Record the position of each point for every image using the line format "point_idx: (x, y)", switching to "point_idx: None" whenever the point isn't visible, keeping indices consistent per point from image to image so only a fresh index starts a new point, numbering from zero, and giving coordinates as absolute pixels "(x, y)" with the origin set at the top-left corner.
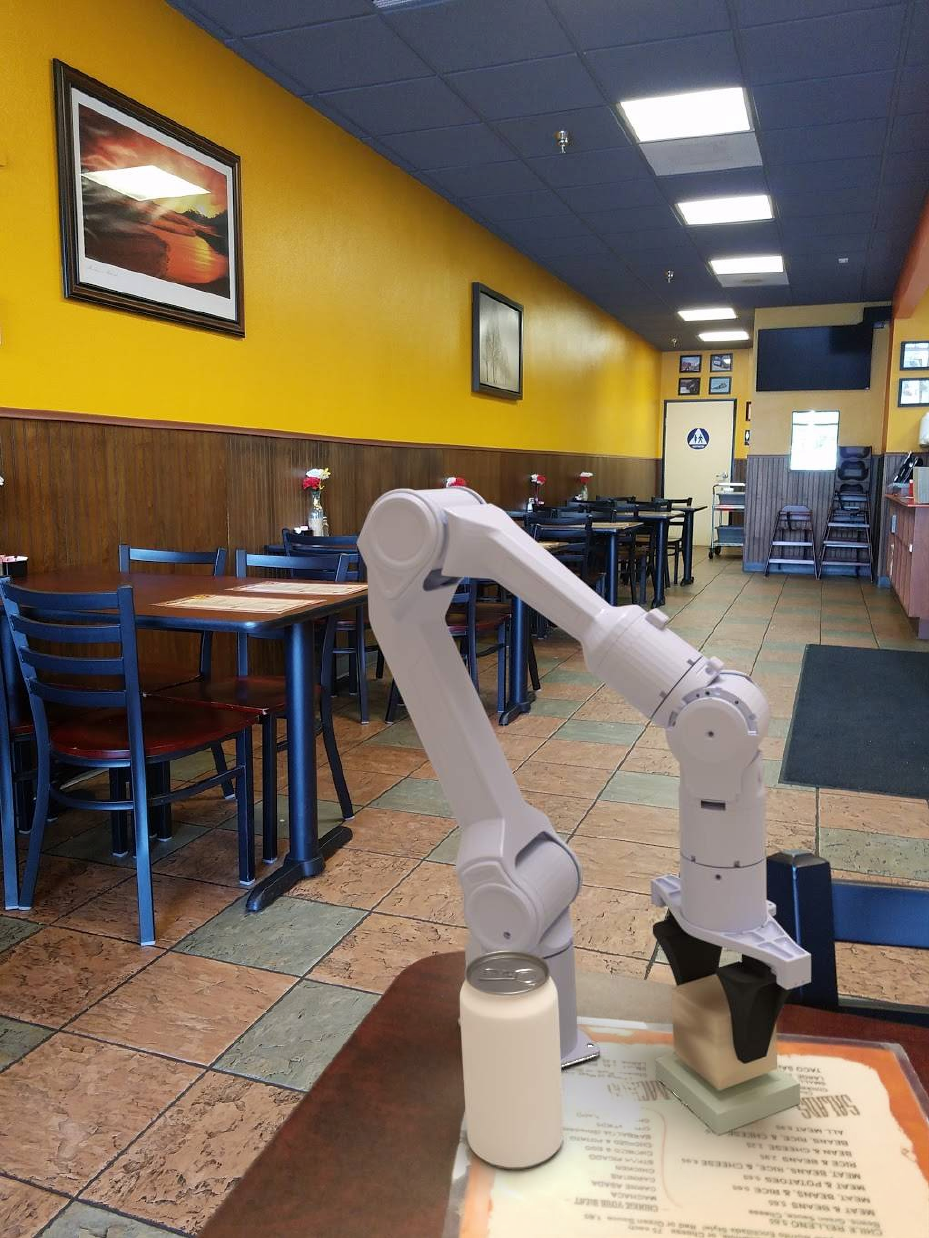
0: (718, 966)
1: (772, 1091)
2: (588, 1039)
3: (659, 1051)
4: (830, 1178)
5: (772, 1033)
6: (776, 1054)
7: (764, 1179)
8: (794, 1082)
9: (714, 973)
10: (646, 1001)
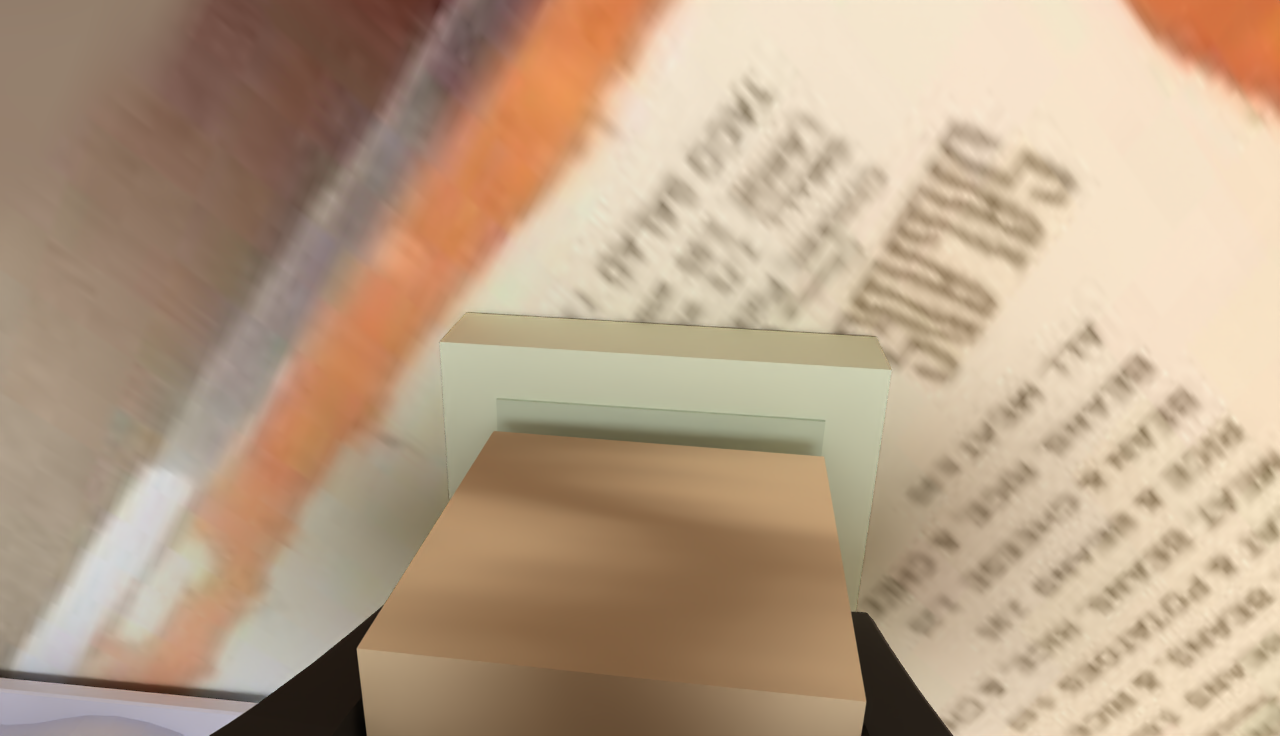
0: (332, 732)
1: (860, 498)
2: (216, 720)
3: (347, 537)
4: (1212, 541)
5: (914, 684)
6: (830, 495)
7: (1064, 693)
8: (874, 386)
9: (354, 728)
10: (7, 365)
